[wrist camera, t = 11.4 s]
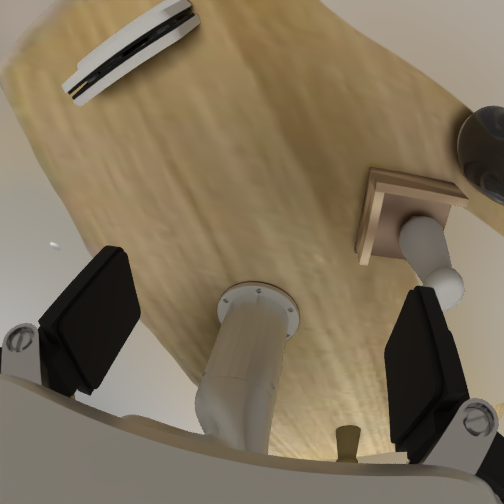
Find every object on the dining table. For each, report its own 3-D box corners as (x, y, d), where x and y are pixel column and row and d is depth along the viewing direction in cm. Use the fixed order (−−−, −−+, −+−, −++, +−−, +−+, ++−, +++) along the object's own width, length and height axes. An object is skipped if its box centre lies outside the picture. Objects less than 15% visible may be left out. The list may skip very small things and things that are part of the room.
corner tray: (430, 258, 39) (440, 281, 35) (354, 248, 40) (357, 271, 36) (453, 183, 33) (469, 199, 29) (369, 167, 34) (377, 182, 30)
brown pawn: (342, 423, 64) (339, 465, 55) (365, 427, 64) (364, 468, 55) (331, 433, 68) (328, 473, 59) (353, 437, 67) (351, 475, 58)
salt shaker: (444, 215, 34) (484, 279, 23) (428, 254, 37) (457, 325, 27) (403, 203, 35) (434, 267, 24) (388, 244, 38) (408, 316, 27)
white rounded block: (185, -11, 26) (159, -2, 20) (205, 19, 30) (186, 37, 23) (81, 60, 32) (41, 91, 26) (100, 85, 36) (65, 120, 29)
